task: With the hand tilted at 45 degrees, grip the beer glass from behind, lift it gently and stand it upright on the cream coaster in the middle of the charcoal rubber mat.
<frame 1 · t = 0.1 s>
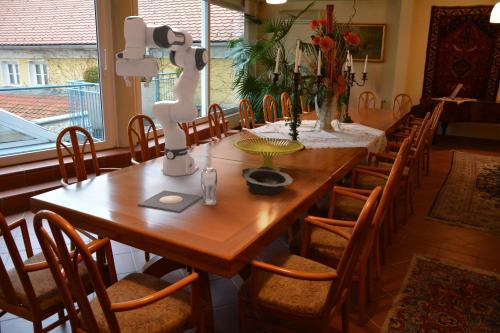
hand: (137, 86, 178), 48 cm above the table, tool pointing down, fingers open, 8 cm apart
stone bowl: (266, 190, 192), on the table
cake stand: (267, 170, 228), on the table
place mat: (171, 201, 174), on the table
beer glass: (209, 203, 173), on the table
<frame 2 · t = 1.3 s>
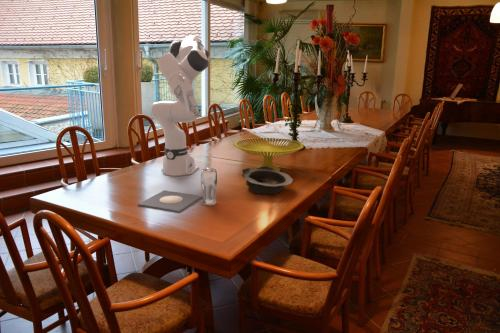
hand: (196, 110, 167), 39 cm above the table, tool tilted 45°, fingers open, 8 cm apart
nothing on the table moved.
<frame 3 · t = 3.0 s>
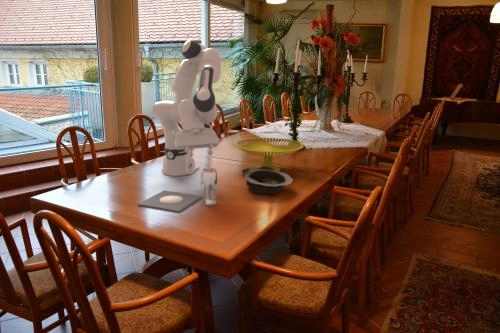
hand: (201, 155, 179), 19 cm above the table, tool tilted 45°, fingers open, 8 cm apart
nothing on the table moved.
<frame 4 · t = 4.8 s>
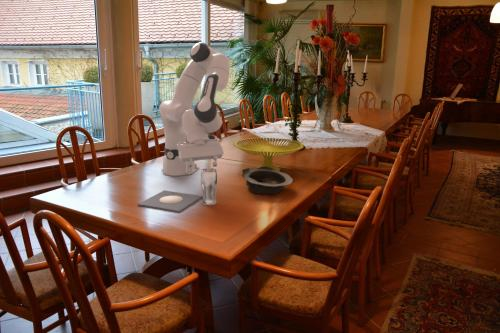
hand: (205, 167, 175), 14 cm above the table, tool tilted 45°, fingers open, 8 cm apart
nothing on the table moved.
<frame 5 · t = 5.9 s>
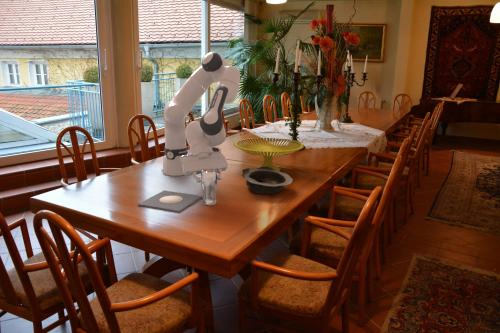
hand: (209, 180, 171), 10 cm above the table, tool tilted 45°, fingers open, 8 cm apart
nothing on the table moved.
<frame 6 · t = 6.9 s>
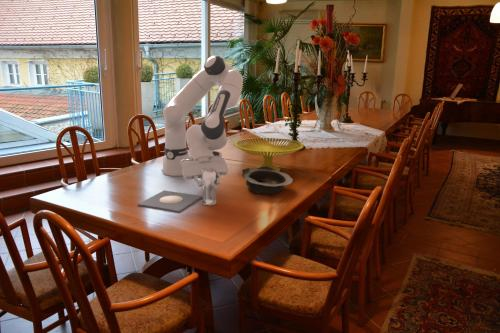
hand: (209, 185, 170), 8 cm above the table, tool tilted 45°, fingers closed on beer glass, 7 cm apart
beer glass: (209, 203, 173), on the table, touching gripper
everything else where it was.
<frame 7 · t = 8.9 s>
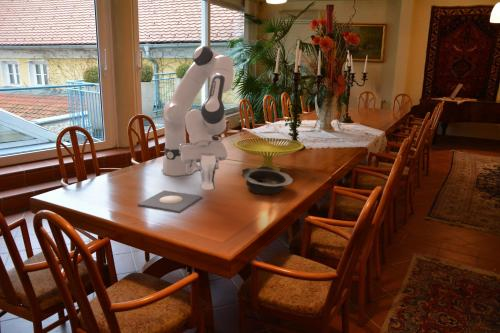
hand: (208, 169, 168), 15 cm above the table, tool tilted 45°, fingers closed on beer glass, 7 cm apart
beer glass: (207, 188, 171), point 7 cm above the table, touching gripper
everything else where it was.
when the fingers open (10 cm above the table, at t = 15.4 s): beer glass stays where it is, resting on place mat.
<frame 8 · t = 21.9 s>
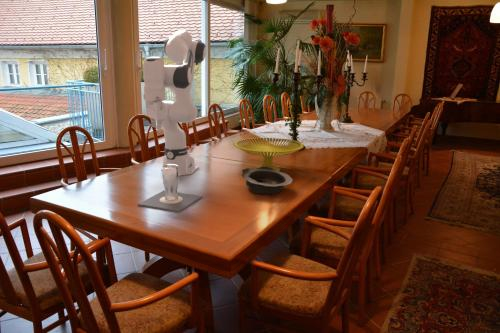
hand: (156, 128, 171), 31 cm above the table, tool pointing down, fingers open, 8 cm apart
beer glass: (171, 199, 174), point 1 cm above the table, touching place mat
everything else where it was.
at the end: beer glass inside the target area on the place mat (0.2 cm from its centre), point 0.8 cm above the place mat's base; beer glass tilted 0°; the gripper is holding nothing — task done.
